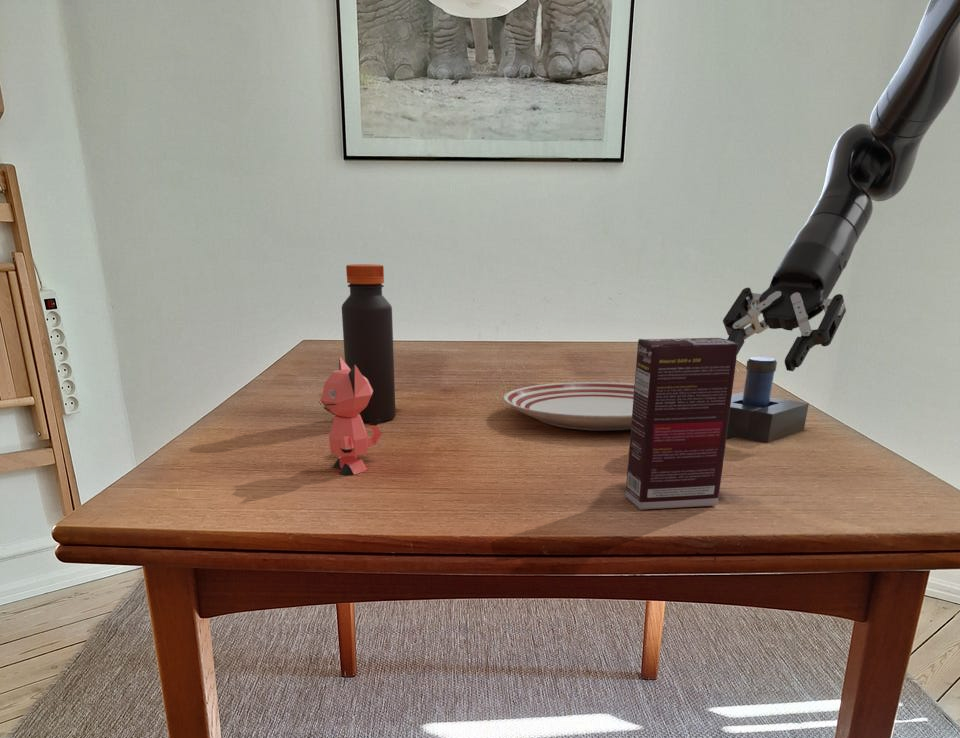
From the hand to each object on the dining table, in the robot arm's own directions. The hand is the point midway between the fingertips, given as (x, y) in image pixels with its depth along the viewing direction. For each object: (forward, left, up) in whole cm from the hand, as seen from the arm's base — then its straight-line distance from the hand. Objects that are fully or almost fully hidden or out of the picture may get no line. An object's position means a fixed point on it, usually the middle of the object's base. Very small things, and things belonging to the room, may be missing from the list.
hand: (757, 362), depth 107 cm
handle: (0, -1, -10) cm, 10 cm away
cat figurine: (+24, +47, -10) cm, 53 cm away
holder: (0, -1, -10) cm, 10 cm away
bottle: (+43, +29, -10) cm, 53 cm away
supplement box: (-8, +31, -10) cm, 33 cm away
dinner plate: (+21, +5, -10) cm, 24 cm away
